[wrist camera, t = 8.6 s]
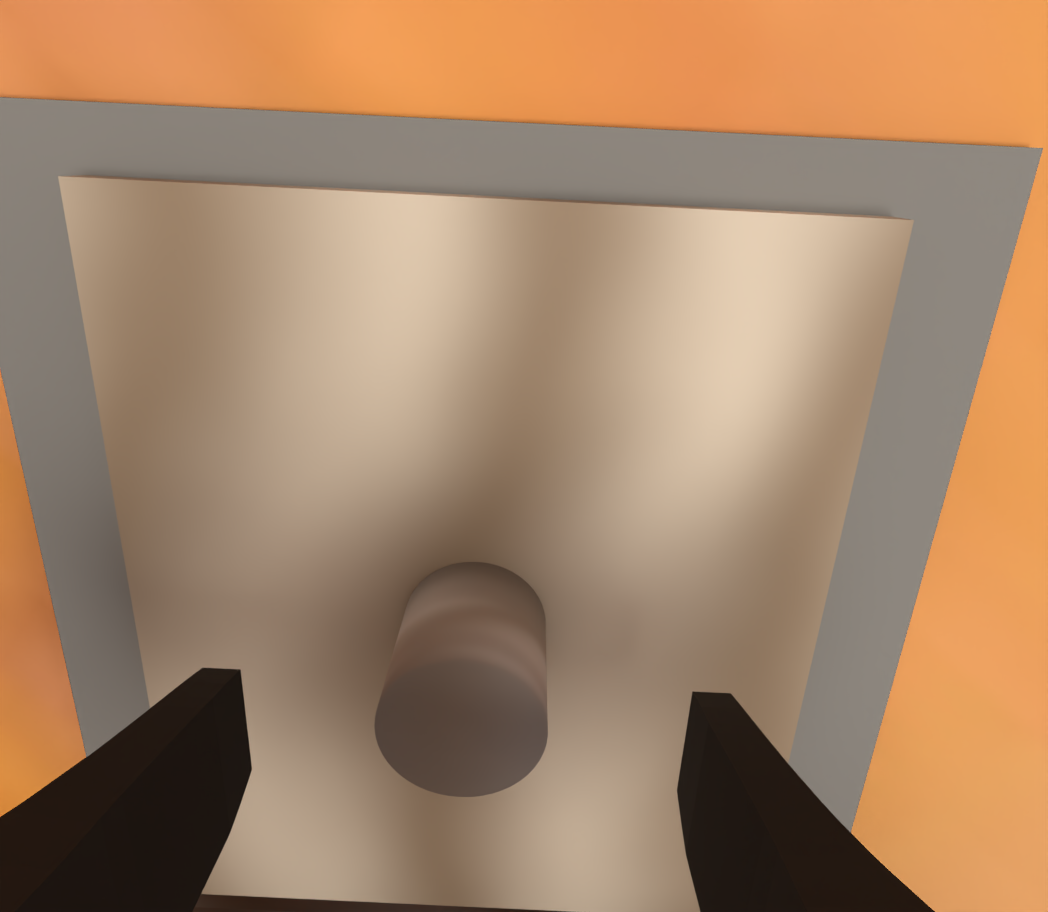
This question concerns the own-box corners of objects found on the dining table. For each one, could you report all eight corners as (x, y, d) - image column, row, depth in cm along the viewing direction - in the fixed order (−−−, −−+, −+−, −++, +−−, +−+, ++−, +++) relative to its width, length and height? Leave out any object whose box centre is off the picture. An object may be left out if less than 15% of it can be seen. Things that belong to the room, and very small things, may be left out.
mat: (1031, 148, 12) (1043, 148, 12) (830, 878, 19) (834, 889, 19) (-48, 95, 12) (-61, 94, 12) (114, 845, 19) (108, 856, 18)
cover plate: (891, 215, 13) (1029, 239, 9) (743, 889, 19) (791, 1061, 15) (86, 175, 13) (-90, 181, 9) (195, 863, 18) (115, 1029, 15)
